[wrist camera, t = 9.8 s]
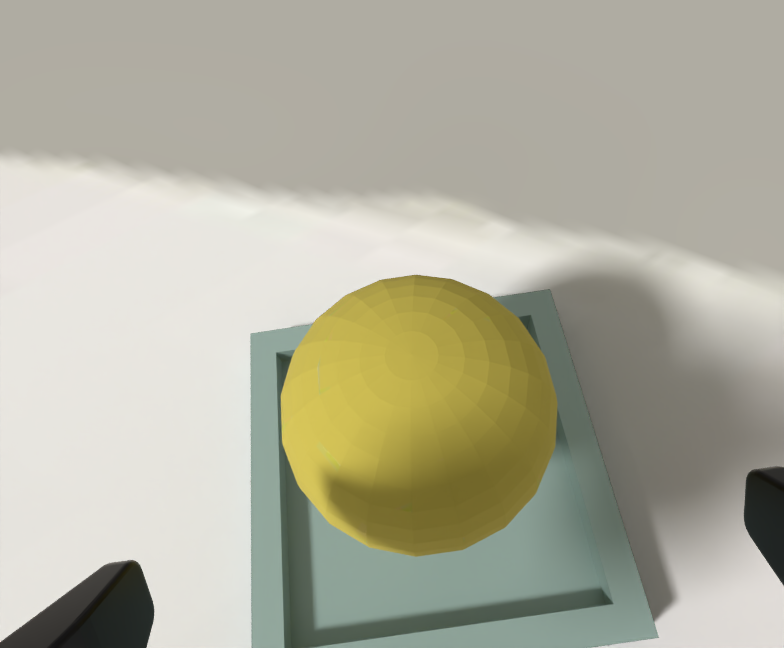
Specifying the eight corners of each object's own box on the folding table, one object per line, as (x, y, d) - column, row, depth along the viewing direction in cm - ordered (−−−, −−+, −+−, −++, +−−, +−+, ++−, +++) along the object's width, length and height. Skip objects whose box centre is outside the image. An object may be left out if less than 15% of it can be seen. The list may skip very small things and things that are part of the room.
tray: (641, 634, 17) (658, 637, 16) (266, 688, 17) (251, 696, 16) (543, 307, 22) (549, 289, 21) (261, 349, 23) (250, 333, 21)
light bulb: (297, 447, 20) (185, 322, 11) (442, 350, 21) (446, 170, 12) (399, 617, 17) (358, 632, 8) (559, 493, 18) (671, 391, 10)
